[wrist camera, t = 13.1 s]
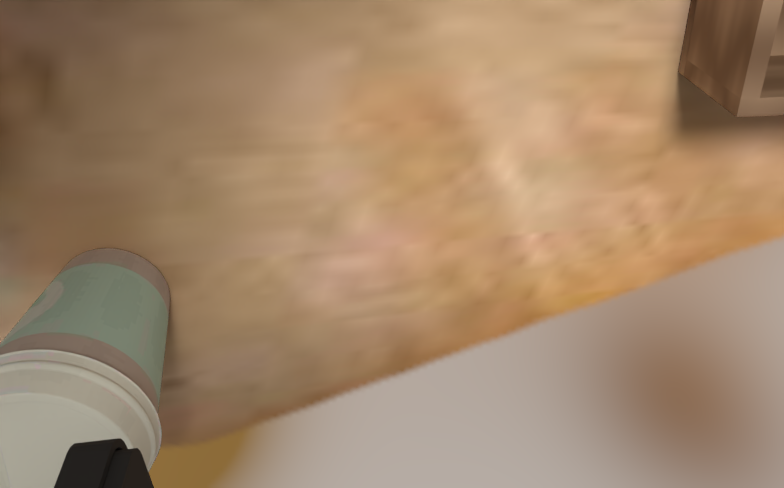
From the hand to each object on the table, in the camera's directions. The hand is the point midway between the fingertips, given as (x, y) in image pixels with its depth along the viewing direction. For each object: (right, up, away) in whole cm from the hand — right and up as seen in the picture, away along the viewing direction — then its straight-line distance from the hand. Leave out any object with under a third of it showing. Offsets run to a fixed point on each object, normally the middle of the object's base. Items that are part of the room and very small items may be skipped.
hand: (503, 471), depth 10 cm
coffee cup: (-16, 0, +30) cm, 35 cm away
